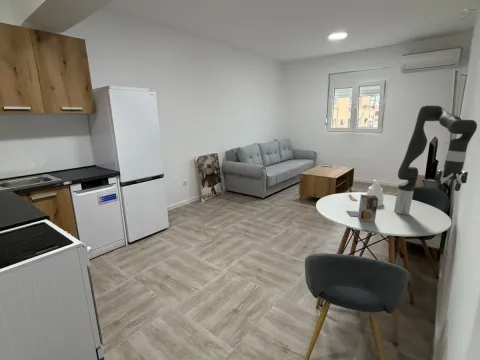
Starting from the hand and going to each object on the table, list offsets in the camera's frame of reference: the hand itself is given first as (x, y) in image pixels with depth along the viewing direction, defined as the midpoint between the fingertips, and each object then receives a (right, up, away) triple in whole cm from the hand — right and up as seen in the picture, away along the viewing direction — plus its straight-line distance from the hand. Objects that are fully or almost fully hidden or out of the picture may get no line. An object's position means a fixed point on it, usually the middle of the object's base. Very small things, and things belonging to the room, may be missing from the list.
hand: (447, 190), depth 136 cm
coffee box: (-26, -21, +35) cm, 48 cm away
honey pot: (-3, -13, +70) cm, 71 cm away
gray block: (-26, -18, +44) cm, 54 cm away
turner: (-16, -10, +79) cm, 82 cm away
